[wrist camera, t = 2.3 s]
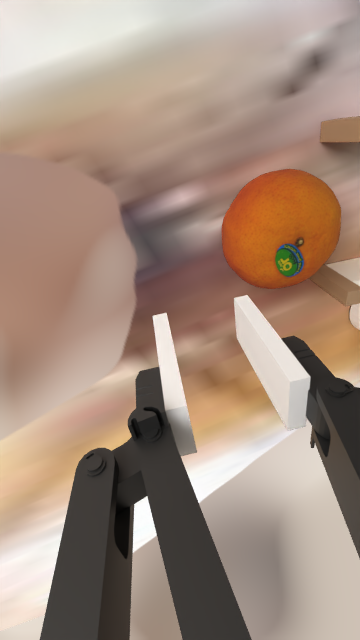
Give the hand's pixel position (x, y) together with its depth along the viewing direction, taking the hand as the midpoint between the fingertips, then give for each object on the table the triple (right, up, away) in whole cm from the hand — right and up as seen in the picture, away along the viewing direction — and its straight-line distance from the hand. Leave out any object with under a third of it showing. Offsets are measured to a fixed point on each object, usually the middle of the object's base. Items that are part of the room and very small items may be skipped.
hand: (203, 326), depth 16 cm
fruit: (+7, +11, +15) cm, 20 cm away
